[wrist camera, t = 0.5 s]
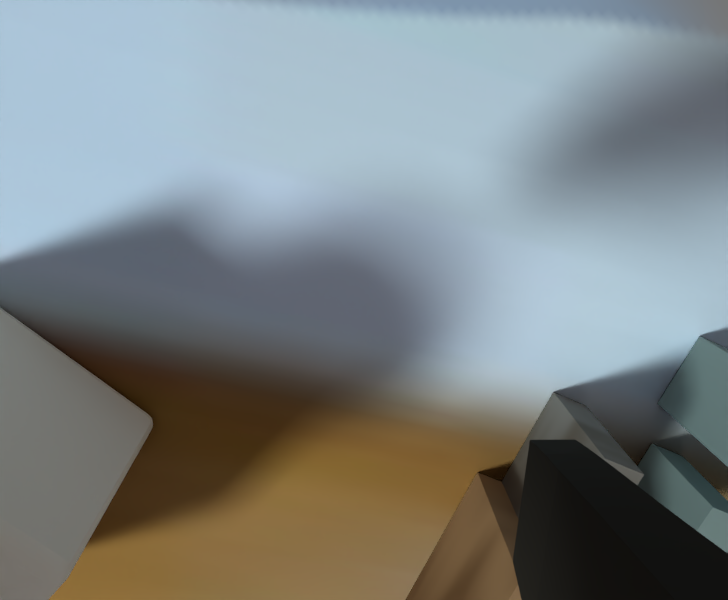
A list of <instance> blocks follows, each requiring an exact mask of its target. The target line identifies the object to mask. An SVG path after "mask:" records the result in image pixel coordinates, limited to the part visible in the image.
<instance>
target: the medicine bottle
mask: <svg viewBox="0 0 728 600" xmlns="http://www.w3.org/2000/svg"><path fill="white" fill-rule="evenodd" d="M152 427H153V421H152V418H151V417H150V415H149V414H147V413H146V412H145V411H143V410H142V409H140V408H139V407H138V406H136V405H135V404H134V403H132V402H131V401H129V400H128V399H127V398H125V397H124V396H122V395H121V394H120V393H118V392H117V391H116V390H114V389H113V388H111V387H110V386H109V385H107V384H106V383H104V382H103V381H102V380H100V379H99V378H98V377H96V376H95V375H93V374H92V373H91V372H89V371H88V370H86V369H85V368H84V367H82V366H81V365H80V364H78V363H77V362H75V361H74V360H73V359H71V358H70V357H68V356H67V355H66V354H64V353H63V352H61V351H60V350H59V349H57V348H56V347H55V346H53V345H52V344H50V343H49V342H48V341H46V340H45V339H43V338H42V337H41V336H39V335H38V334H37V333H35V332H34V331H32V330H31V329H30V328H28V327H27V326H25V325H24V324H23V323H21V322H20V321H19V320H17V319H16V318H14V317H13V316H12V315H10V314H9V313H7V312H6V311H5V310H3V309H2V308H0V600H48V599H49V598H50V597H51V596H52V595H53V594H54V593H55V592H56V590H57V589H58V588H59V587H60V586H61V585H62V584H63V583H64V582H65V581H66V579H67V578H68V577H69V575H70V573H71V571H72V570H73V568H74V566H75V564H76V562H77V561H78V559H79V557H80V555H81V554H82V552H83V550H84V548H85V547H86V545H87V543H88V541H89V539H90V538H91V536H92V534H93V532H94V531H95V529H96V527H97V525H98V524H99V522H100V520H101V518H102V517H103V515H104V513H105V511H106V509H107V508H108V506H109V504H110V502H111V501H112V499H113V497H114V495H115V494H116V492H117V490H118V488H119V486H120V485H121V483H122V481H123V479H124V478H125V476H126V474H127V472H128V471H129V469H130V467H131V465H132V464H133V462H134V460H135V458H136V456H137V455H138V453H139V451H140V449H141V448H142V446H143V444H144V442H145V441H146V439H147V437H148V435H149V433H150V432H151V430H152Z"/></svg>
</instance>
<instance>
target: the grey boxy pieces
mask: <svg viewBox="0 0 728 600" xmlns="http://www.w3.org/2000/svg"><path fill="white" fill-rule="evenodd" d="M657 404H659V405H660V406H661V407H662V408H663V409H664V410H665V411H666V412H667V413H669V414H670V415H671V416H672V417H673V418H674V419H675V420H676V421H677V422H679V423H680V424H681V425H682V426H683V427H684V428H685V429H686V430H687V431H688V432H690V433H691V434H692V435H693V436H694V437H695V438H696V439H697V440H698V441H700V442H701V443H702V444H703V445H704V446H705V447H706V448H707V449H708V450H709V451H711V452H712V453H713V454H714V455H715V456H716V457H717V458H718V459H719V460H721V461H722V462H723V463H724V464H725V465H726V466H727V467H728V349H727V348H725V347H723V346H720V345H718V344H716V343H714V342H712V341H709V340H707V339H705V338H703V337H701V336H699V338H698V340H697V341H696V343H695V344H694V346H693V348H692V349H691V351H690V352H689V354H688V356H687V357H686V359H685V360H684V362H683V364H682V365H681V367H680V368H679V370H678V372H677V373H676V375H675V376H674V378H673V380H672V381H671V383H670V384H669V386H668V388H667V389H666V391H665V392H664V394H663V395H662V397H661V399H660V400H659V402H658V403H657ZM637 467H638V468H639V469H640V470H641V471H642V472H643V474H644V476H643V477H642V479H641V480H640V482H639V484H638V485H637V486H639V487H640V488H641V489H643V490H644V491H645V492H646V493H648V494H649V495H650V496H652V497H653V498H654V499H655V500H657V501H658V502H659V503H661V504H662V505H663V506H665V507H666V508H667V509H669V510H670V511H671V512H673V513H674V514H675V515H676V516H678V517H679V518H680V519H682V520H683V521H684V522H686V523H687V524H688V525H690V526H691V527H692V528H694V529H695V530H696V531H698V532H699V533H701V534H702V535H703V536H705V537H706V538H707V539H709V540H710V541H711V542H713V543H714V544H715V545H717V546H718V547H720V548H721V549H722V550H724V551H725V552H726V553H728V501H727V500H726V499H725V498H724V497H723V496H722V495H721V494H720V493H719V492H718V491H717V490H716V489H715V488H714V487H713V486H712V485H711V484H710V483H709V482H708V481H707V480H706V479H705V478H704V477H703V476H702V475H701V474H700V473H699V472H698V471H697V470H696V469H695V468H694V467H693V466H692V465H691V464H690V463H689V462H688V461H687V460H686V459H685V458H684V457H683V456H681V455H678V454H676V453H673V452H671V451H669V450H666V449H664V448H661V447H659V446H657V445H654V444H651V446H650V447H649V449H648V450H647V452H646V454H645V455H644V457H643V458H642V460H641V461H640V463H639V465H638V466H637Z"/></svg>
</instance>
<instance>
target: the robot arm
mask: <svg viewBox="0 0 728 600" xmlns="http://www.w3.org/2000/svg"><path fill="white" fill-rule="evenodd" d="M513 565H514V569H515V574H516V578H517V582H518V586H519V591H520V595H521V599H522V600H728V553H726V552H725V551H724V550H722V549H721V548H720V547H718V546H717V545H715V544H714V543H713V542H711V541H710V540H709V539H707V538H706V537H705V536H703V535H702V534H701V533H699V532H698V531H696V530H695V529H694V528H692V527H691V526H690V525H688V524H687V523H686V522H684V521H683V520H682V519H680V518H679V517H678V516H676V515H675V514H674V513H673V512H671V511H670V510H669V509H667V508H666V507H665V506H663V505H662V504H661V503H659V502H658V501H657V500H655V499H654V498H653V497H652V496H650V495H649V494H648V493H646V492H645V491H644V490H643V489H641V488H640V487H639V486H637V485H636V484H635V483H633V482H632V481H631V480H630V479H628V478H627V477H626V476H624V475H623V474H622V473H620V472H619V471H618V470H617V469H615V468H614V467H613V466H611V465H610V464H609V463H607V462H606V461H605V460H603V459H602V458H601V457H599V456H598V455H597V454H595V453H594V452H593V451H591V450H590V449H589V448H587V447H586V446H584V445H583V444H581V443H580V442H578V441H577V440H575V439H570V440H530V443H529V450H528V457H527V464H526V471H525V478H524V485H523V492H522V499H521V506H520V513H519V520H518V527H517V534H516V541H515V548H514V555H513Z"/></svg>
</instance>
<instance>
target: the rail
mask: <svg viewBox="0 0 728 600" xmlns="http://www.w3.org/2000/svg"><path fill="white" fill-rule="evenodd" d="M570 439H575V440H577V441H578V442H580V443H581V444H583V445H584V446H586V447H587V448H589V449H590V450H591V451H593V452H594V453H595V454H597V455H598V456H599V457H601V458H602V459H603V460H605V461H606V462H607V463H609V464H610V465H611V466H613V467H614V468H615V469H617V470H618V471H619V472H620V473H622V474H623V475H624V476H626V477H627V478H628V479H630V480H631V481H632V482H633V483H635V484H636V485H638V484H639V482H640V480H641V479H642V477H643V476H644V474H643V472H642V471H641V470H640V469H639V468H638V467H637V465H636V464H635V463H634V462H633V461H632V460H631V458H630V457H629V456H628V455H627V454H626V452H625V451H624V450H623V449H622V448H621V447H620V445H619V444H618V443H617V442H616V441H615V440H614V438H613V437H612V436H611V435H610V434H609V433H608V431H607V430H606V429H605V428H604V427H603V425H602V424H601V423H600V422H599V421H598V420H597V418H596V417H595V416H594V415H593V414H592V413H591V411H590V410H589V409H588V408H587V407H586V406H585V405H582V404H580V403H578V402H575V401H573V400H571V399H568V398H566V397H563V396H561V395H559V394H556V393H554V392H553V394H552V396H551V397H550V399H549V401H548V402H547V404H546V406H545V408H544V409H543V411H542V413H541V415H540V416H539V418H538V420H537V422H536V423H535V425H534V427H533V428H532V430H531V432H530V434H529V435H528V437H527V439H526V441H525V442H524V444H523V446H522V447H521V449H520V451H519V453H518V454H517V456H516V458H515V460H514V461H513V463H512V465H511V466H510V468H509V470H508V472H507V473H506V475H505V477H504V479H503V480H502V482H501V481H498V480H496V479H493V478H491V477H488V476H485V475H483V474H480V473H477V474H476V476H475V478H474V480H473V481H472V483H471V485H470V487H469V488H468V490H467V492H466V494H465V496H464V497H463V499H462V501H461V503H460V504H459V506H458V508H457V510H456V512H455V513H454V515H453V517H452V519H451V520H450V522H449V524H448V526H447V527H446V529H445V531H444V533H443V535H442V536H441V538H440V540H439V542H438V543H437V545H436V547H435V549H434V550H433V552H432V554H431V556H430V558H429V559H428V561H427V563H426V565H425V566H424V568H423V570H422V572H421V574H420V575H419V577H418V579H417V581H416V582H415V584H414V586H413V588H412V589H411V591H410V593H409V595H408V597H407V598H406V600H522V599H521V595H520V591H519V586H518V582H517V578H516V574H515V569H514V565H513V555H514V548H515V541H516V534H517V527H518V520H519V513H520V506H521V499H522V492H523V485H524V478H525V471H526V464H527V457H528V450H529V443H530V440H570Z"/></svg>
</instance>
